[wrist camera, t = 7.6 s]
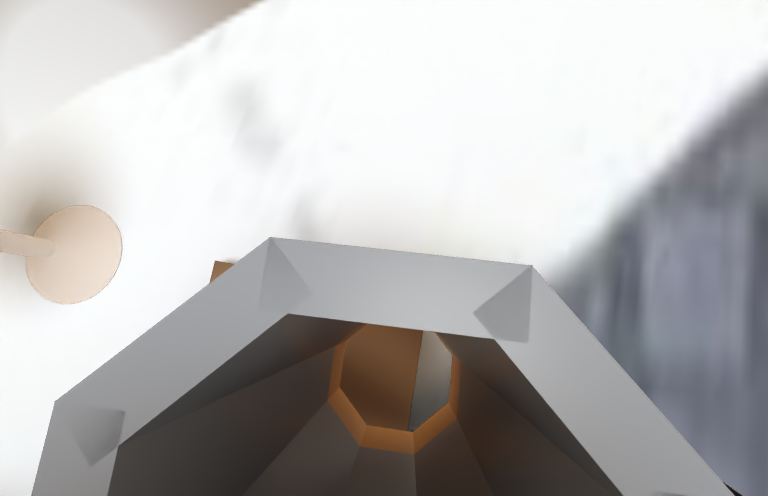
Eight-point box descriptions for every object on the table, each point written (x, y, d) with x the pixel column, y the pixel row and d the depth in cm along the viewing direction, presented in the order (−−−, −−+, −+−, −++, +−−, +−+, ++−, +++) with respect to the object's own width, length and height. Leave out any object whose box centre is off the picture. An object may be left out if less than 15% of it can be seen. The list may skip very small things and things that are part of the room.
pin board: (394, 507, 21) (391, 575, 16) (179, 461, 22) (106, 508, 17) (426, 297, 23) (432, 292, 18) (226, 263, 24) (174, 249, 19)
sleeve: (498, 384, 15) (932, 719, 3) (384, 479, 15) (265, 1390, 2) (407, 271, 17) (411, 128, 4) (298, 357, 16) (-110, 526, 3)
